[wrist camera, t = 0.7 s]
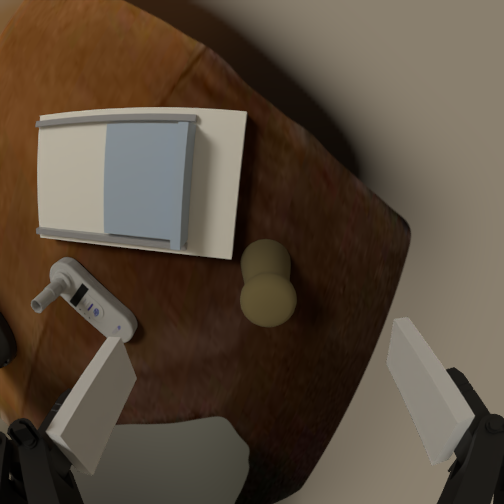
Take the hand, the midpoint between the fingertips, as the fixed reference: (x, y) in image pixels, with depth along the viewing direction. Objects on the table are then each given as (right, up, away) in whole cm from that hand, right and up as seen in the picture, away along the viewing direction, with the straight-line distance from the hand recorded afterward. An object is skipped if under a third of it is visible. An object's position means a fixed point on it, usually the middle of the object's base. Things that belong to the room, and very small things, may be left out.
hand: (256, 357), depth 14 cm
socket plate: (-14, +14, +20) cm, 28 cm away
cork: (+1, +4, +23) cm, 24 cm away
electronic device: (-22, -1, +26) cm, 34 cm away
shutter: (-11, +13, +18) cm, 24 cm away
